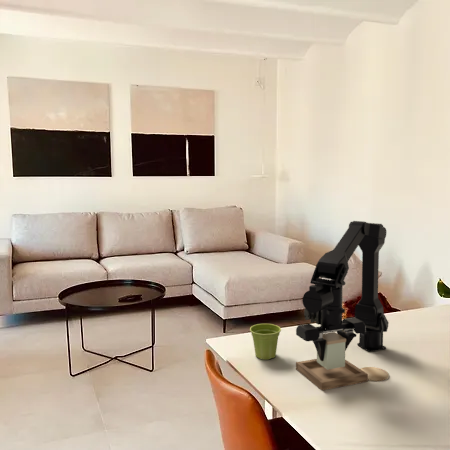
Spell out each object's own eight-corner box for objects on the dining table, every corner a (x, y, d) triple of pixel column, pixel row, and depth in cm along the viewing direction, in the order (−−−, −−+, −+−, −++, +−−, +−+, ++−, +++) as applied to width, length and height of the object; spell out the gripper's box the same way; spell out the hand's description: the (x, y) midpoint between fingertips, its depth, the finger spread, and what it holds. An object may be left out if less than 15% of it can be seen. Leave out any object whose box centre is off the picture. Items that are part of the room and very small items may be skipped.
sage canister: (334, 358, 136) (334, 332, 135) (345, 366, 130) (346, 338, 129) (316, 361, 134) (316, 334, 133) (327, 369, 128) (327, 341, 127)
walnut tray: (338, 361, 141) (338, 355, 141) (367, 381, 128) (367, 374, 128) (295, 369, 137) (295, 362, 136) (321, 390, 123) (321, 382, 123)
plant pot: (279, 363, 141) (279, 334, 140) (247, 361, 143) (247, 333, 142) (282, 351, 150) (282, 324, 149) (252, 349, 152) (252, 322, 151)
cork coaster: (370, 366, 138) (370, 364, 138) (394, 376, 131) (394, 374, 131) (352, 373, 133) (352, 371, 133) (375, 383, 127) (375, 382, 127)
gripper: (344, 292, 141) (343, 344, 142) (286, 299, 134) (286, 353, 136) (367, 302, 130) (366, 358, 132) (306, 310, 124) (306, 368, 126)
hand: (330, 358), depth 132 cm, fingers closed on sage canister, 5 cm apart
